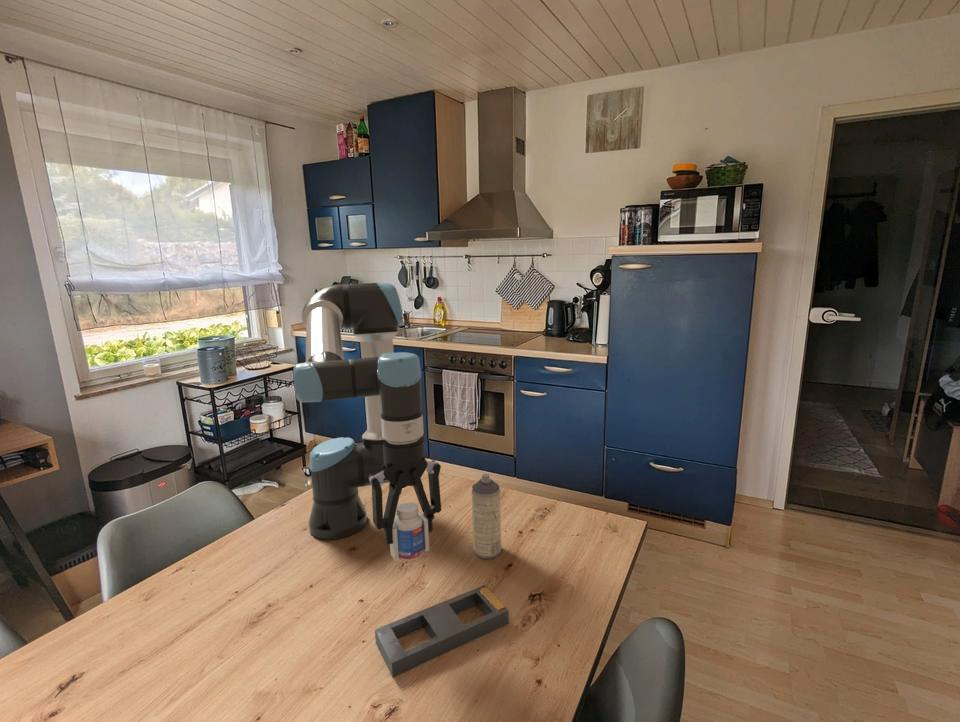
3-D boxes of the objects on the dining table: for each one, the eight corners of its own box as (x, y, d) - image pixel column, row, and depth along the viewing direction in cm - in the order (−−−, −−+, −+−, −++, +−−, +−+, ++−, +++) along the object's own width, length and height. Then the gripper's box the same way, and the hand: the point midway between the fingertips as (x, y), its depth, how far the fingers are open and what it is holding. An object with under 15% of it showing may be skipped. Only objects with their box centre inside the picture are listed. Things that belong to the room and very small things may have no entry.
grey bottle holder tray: (375, 643, 92) (374, 628, 91) (485, 597, 103) (484, 583, 103) (392, 677, 84) (391, 662, 83) (508, 623, 96) (508, 609, 95)
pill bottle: (418, 563, 90) (415, 515, 89) (391, 560, 92) (387, 512, 90) (428, 547, 96) (425, 501, 94) (402, 544, 97) (399, 499, 95)
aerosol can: (504, 545, 122) (503, 471, 117) (496, 561, 115) (495, 483, 111) (478, 540, 124) (477, 467, 120) (469, 556, 118) (467, 479, 113)
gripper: (358, 454, 82) (368, 578, 86) (457, 434, 90) (461, 547, 95) (347, 441, 88) (357, 556, 93) (441, 423, 97) (445, 530, 101)
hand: (410, 552), depth 94 cm, fingers closed on pill bottle, 5 cm apart
